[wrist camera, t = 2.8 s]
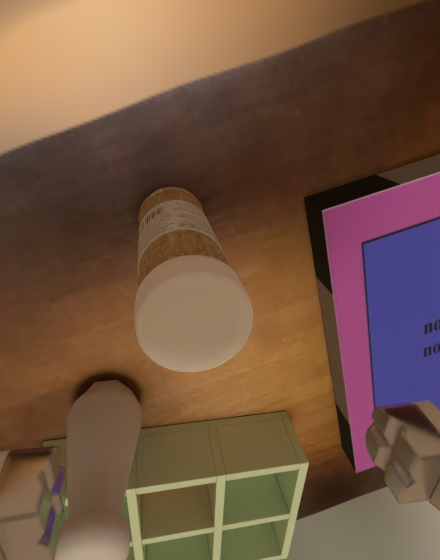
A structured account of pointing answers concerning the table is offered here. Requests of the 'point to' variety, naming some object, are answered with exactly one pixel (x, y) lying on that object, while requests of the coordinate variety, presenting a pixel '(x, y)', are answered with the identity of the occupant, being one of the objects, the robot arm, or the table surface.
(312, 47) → the table surface
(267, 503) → the rack
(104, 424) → the salt shaker
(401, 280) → the book
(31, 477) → the robot arm
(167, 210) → the sprinkles bottle
